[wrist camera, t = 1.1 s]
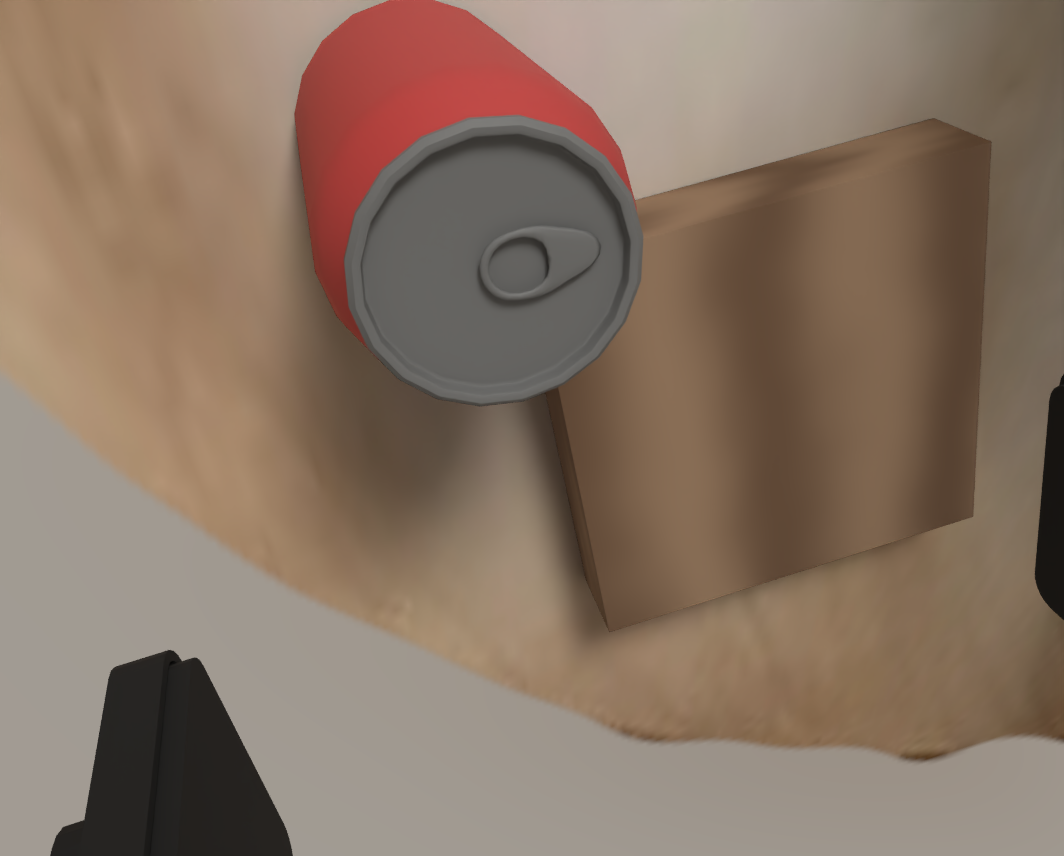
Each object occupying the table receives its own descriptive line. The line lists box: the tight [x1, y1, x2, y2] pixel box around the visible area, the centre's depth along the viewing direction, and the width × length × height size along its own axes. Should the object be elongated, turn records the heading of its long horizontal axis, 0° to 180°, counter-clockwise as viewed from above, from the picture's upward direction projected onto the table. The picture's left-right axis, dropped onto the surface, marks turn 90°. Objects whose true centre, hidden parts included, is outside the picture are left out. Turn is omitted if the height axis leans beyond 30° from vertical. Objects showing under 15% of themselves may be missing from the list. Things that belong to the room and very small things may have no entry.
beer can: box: [294, 0, 643, 406], centre depth 24 cm, size 7×7×12 cm
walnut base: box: [545, 118, 991, 632], centre depth 34 cm, size 14×14×3 cm
